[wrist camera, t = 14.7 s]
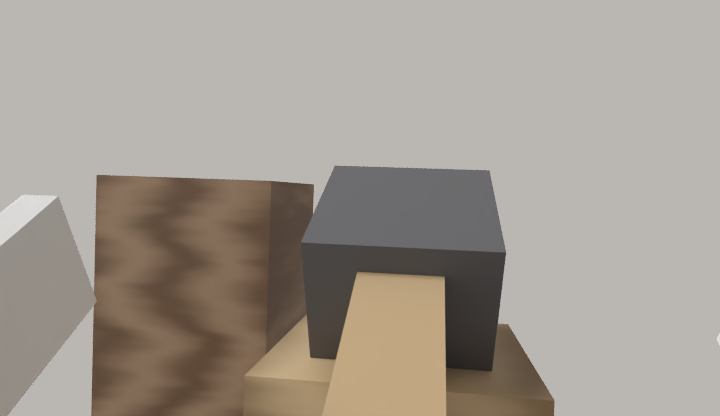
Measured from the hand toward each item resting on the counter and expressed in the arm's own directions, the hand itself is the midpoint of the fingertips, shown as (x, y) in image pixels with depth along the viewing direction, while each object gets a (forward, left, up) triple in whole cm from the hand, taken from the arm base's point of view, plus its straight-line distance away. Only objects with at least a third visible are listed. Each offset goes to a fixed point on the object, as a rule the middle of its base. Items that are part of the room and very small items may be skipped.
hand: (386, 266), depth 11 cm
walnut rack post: (-15, +30, -30) cm, 45 cm away
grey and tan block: (0, +11, -7) cm, 13 cm away
